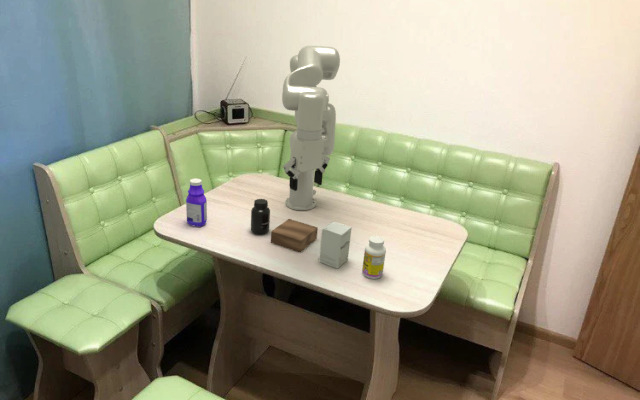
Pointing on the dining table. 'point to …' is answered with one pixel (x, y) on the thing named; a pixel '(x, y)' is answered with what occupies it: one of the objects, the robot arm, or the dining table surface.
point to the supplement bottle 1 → (260, 217)
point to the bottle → (196, 204)
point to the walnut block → (294, 235)
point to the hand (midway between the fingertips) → (305, 186)
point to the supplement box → (335, 244)
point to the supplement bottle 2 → (374, 258)
